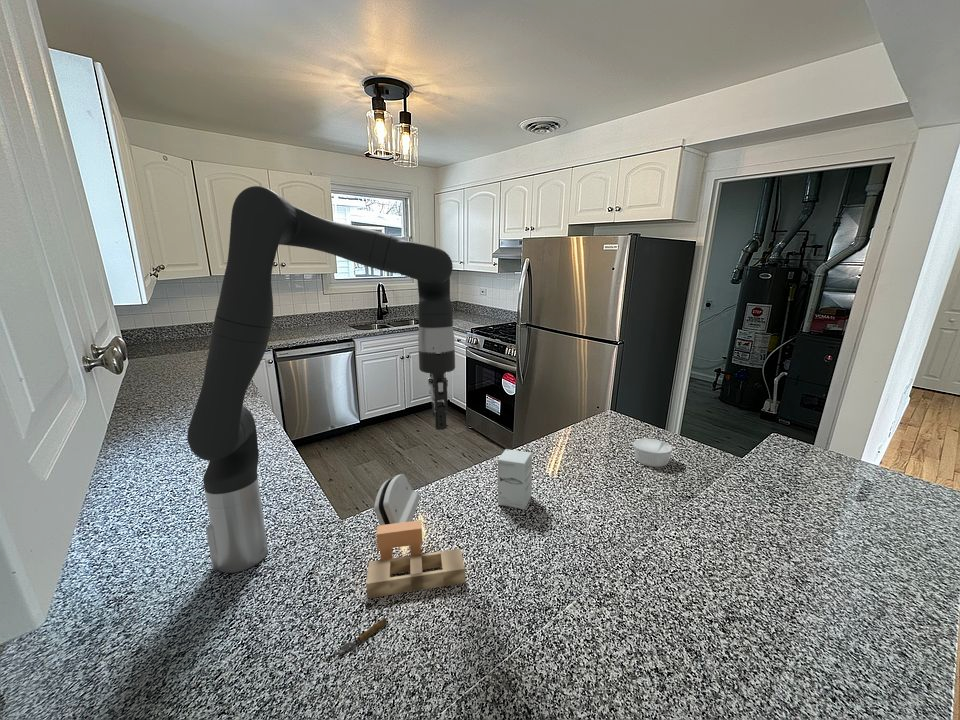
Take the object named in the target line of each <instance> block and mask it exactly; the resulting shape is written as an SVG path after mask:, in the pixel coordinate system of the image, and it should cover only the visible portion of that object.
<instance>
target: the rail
mask: <svg viewBox="0 0 960 720" xmlns="http://www.w3.org/2000/svg"><path fill="white" fill-rule="evenodd" d="M436 568H441V569H436ZM429 569H436V570H431V571H425V570H429ZM465 569H466V567H465V563H464V558H463V553H462V549H461V548H456V549H447V550H441V551H433V552H428V553H427V552H426V553H421V554H418V555H411V554H410V555H406V556H405V555H404V556H398V557H392V558H390V559H384V560H381V559H379V560H371V561H368V566H367V575H366V581H365V587H366V597H367V599H372V598H378V597H383V596H384V597H385V596H391V595H397V594H402V593H403V594H405V593H409V592H416V591H417V592H418V591H422V590H429V589H435V588H442V587H448V586H454V585H460V584H465V583H466V570H465ZM423 571H424V572H423ZM402 572H404V573H410V574H405V575H404V574H403V573H402ZM397 573H398V574H403V575H398V574H397ZM391 574H392V575H398V576H392V575H391Z"/></svg>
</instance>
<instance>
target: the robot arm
mask: <svg viewBox="0 0 960 720" xmlns="http://www.w3.org/2000/svg"><path fill="white" fill-rule="evenodd" d="M230 215H231V216H230V217H231V218H230V231H229V243H228V254H227V261H226V266H225V271H224V275H223V280H222V283H221V284H222V285H221V289H220V294H219V295H220V296H219V298H218V299H219V300H218V303H217V308H216V310H215V315H214V319H213V325H212V331H211V335H210V341H209V342H210V343H209V349H208V354H207V359H206V363H205V369H204V376H203V380H202V386H201V389H200V392H199V396H198V398H197V399H198V400H197V402H196V404H195V407H194V411H193V413H192V416H191V419H190V422H189V424H188V425H189V426H188V428H187V429H188V430H187V436H186V437H187V443H188V444H187V445H188V446H189V449H190V450H191V451H192V453H193V454H194V456H196V457H198V458H200V459H201V460H203V461H208V465H207V468H206V470H205V472H204V473H203V479H202V482H203V488H204V494H205V495H204V496H205V500H206V505H207V513H208V518H209V524H208V525H207V526H206V529H205V531H206V536H207V537H206V538H207V543H208V548H209V553H210V560H211V567H212V571H219V572H221V573H227V574H232V573H233V574H234V573H238V572H243V571H245V570H248V569H250V568H252V567H254V566H255V565H257V564H258V563H260V562H262V561H263V560H264V559H265V557H266V556H267V554H268V552H269V550H268V549H269V547H268V540H267V533H266V526H265V519H264V512H263V506H262V505H263V504H262V498H261V491H260V483H259V482H260V481H259V476H258V475H259V474H258V465H259V459H260V456H259V455H260V454H259V443H258V442H259V441H258V434H257V427H256V422H255V418H254V416H253V414H252V412H251V411H250V410H249V409H248V408H247V407H245V406H244V400H245V396H246V394H247V390H248V388H249V385H250V384H251V382H252V380H253V378H254V376H255V374H256V372H257V370H258V369H259V366H260V364H261V362H262V359H263V358H264V355H265V353H266V350H267V347H268V343H269V340H270V335H271V331H272V325H273V319H274V297H273V289H272V287H273V286H272V273H273V266H274V262H275V259H276V255H277V252H278V248H279V246H288V247H289V246H290V247H299V248H304V249H305V248H306V249H308V250H309V249H311V250H315V251H319V252H322V253H323V252H324V253H326V254H330V255H333V256H336V257H339V258H341V259H345V260H347V261H350V262H353V263H356V264H359V265H361V266H365V267H369V268H372V269H375V270H378V271H383V272H385V273H386V272H387V273H391V274H399V275H402V276H405V277H408V278H411V279H413V280H414V279H415V280H417V290H418V291H417V292H418V308H417V309H418V310H417V311H418V312H417V313H418V316H417V317H418V334H417V335H418V336H417V341H418V342H417V343H418V345H417V347H418V366H419V368H418V369H419V371H420V372H422V373H424V374H425V373H426V374H429V377H428V378H427V384H428V391H429V392H428V393H429V395H430V400H431V408H432V409H431V413H432V417H434V425H435V430H436V431H439V430H441V431H442V430H446V429H447V412H448V411H449V406H448V400H449V394H448V387H449V382H448V381H449V380H448V378H447V377H446V376H445V373H450V372H452V371H454V370H455V369H456V353H455V352H456V348H455V344H456V343H455V332H454V326H453V325H454V323H453V322H454V320H453V304H452V300H451V280H450V279H451V275H452V273H453V269H454V267H453V261H452V259H451V256H450V255H449V253H447V252H446V251H445V250H443V249H441V248H438V247H435V246H432V245H428V244H424V243H419V242H414V241H408V240H405V239H402V238H400V237H397V236H394V235H391V234H389V233H384V232H381V231H378V230H374V229H371V228H367V227H362V226H358V225H353V224H348V223H341V222H339V221H338V222H337V221H333V220H329V219H326V218H323V217H320V216H317V215H314V214H312V213H310V212H308V211H305V210H304V209H302V208H299V207H298V206H296V205H294V204H292V203H290V202H289V201H288V200H287V199H285V198H284V197H283V196H282V195H280V194H278V193H277V192H275V191H273V190H272V189H270V188H268V187H264V186H261V185H253V186H249V187H247V188H245V189H243V190H242V191H241V192H240V193H239V194H238V195H237V196H236V198H235V199H234V202H233V205H232V210H231V214H230Z"/></svg>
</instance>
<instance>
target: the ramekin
mask: <svg viewBox="0 0 960 720" xmlns="http://www.w3.org/2000/svg"><path fill="white" fill-rule="evenodd" d="M632 446H633V450H634V457H635V459H636V461H637V462H639V464H641V465H644V466H647V467H651V468H660V467H664V466H667V465H668V464H669V462H670V458H671V454H672V453H673V447H672V445H670V444H669V443H667V442H665V441H663V440H658V439H655V438H654V439H653V438H639V439H636V440H634V441H633V443H632Z"/></svg>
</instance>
